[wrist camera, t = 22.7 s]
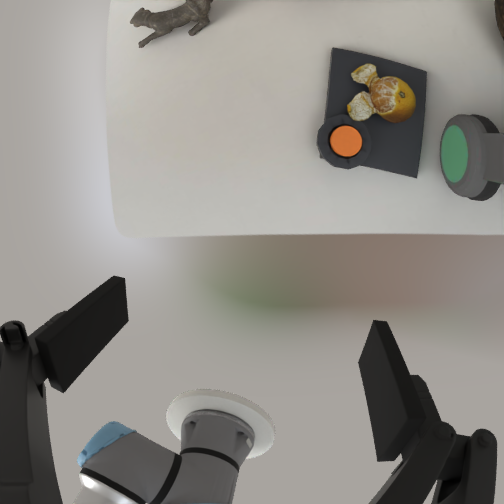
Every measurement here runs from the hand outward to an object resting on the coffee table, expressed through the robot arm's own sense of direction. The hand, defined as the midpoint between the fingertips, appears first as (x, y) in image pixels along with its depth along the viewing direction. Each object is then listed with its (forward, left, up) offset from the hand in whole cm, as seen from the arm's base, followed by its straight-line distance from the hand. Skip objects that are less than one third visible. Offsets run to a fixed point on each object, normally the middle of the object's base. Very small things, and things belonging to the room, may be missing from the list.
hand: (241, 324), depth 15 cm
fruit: (+18, -10, -24) cm, 32 cm away
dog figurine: (+27, +17, -27) cm, 42 cm away
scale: (+16, -11, -27) cm, 33 cm away
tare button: (+11, -7, -24) cm, 27 cm away
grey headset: (+14, -30, -27) cm, 43 cm away
